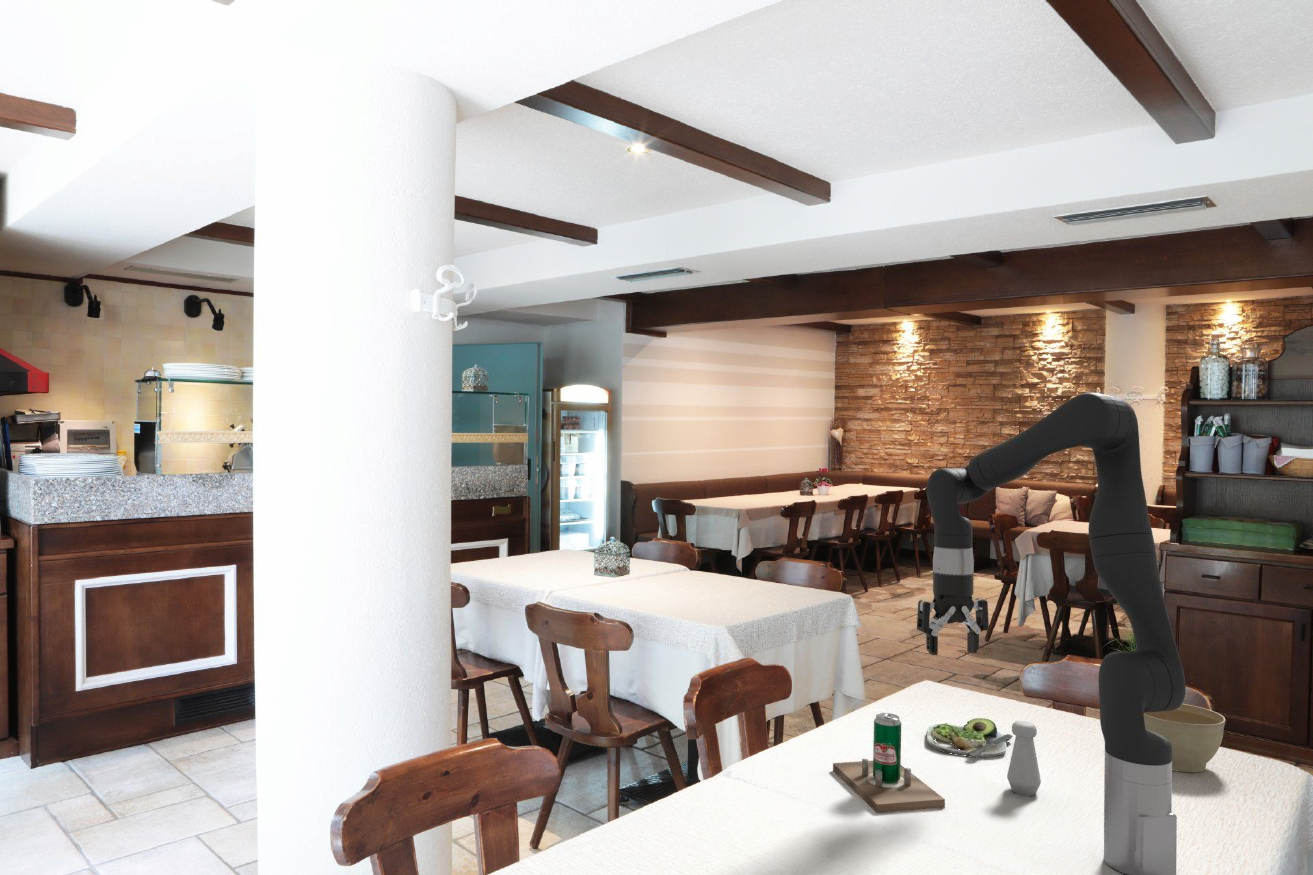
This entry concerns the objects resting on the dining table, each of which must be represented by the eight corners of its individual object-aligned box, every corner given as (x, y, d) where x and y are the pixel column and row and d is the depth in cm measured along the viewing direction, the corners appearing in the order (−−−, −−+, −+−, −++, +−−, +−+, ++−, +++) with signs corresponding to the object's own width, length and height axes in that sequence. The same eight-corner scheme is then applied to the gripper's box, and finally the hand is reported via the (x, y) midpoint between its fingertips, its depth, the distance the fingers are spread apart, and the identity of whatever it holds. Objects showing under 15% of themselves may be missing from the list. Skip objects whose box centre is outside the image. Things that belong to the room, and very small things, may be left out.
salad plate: (1014, 769, 176) (1014, 746, 176) (922, 756, 183) (922, 734, 183) (1012, 739, 194) (1012, 718, 194) (928, 728, 201) (928, 708, 201)
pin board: (944, 807, 157) (945, 782, 157) (877, 812, 154) (877, 787, 154) (893, 766, 176) (893, 744, 176) (832, 770, 174) (833, 747, 174)
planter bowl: (1243, 773, 174) (1244, 719, 174) (1186, 784, 168) (1187, 728, 168) (1170, 747, 189) (1170, 696, 189) (1115, 756, 183) (1115, 704, 183)
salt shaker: (1043, 799, 161) (1044, 728, 161) (1010, 796, 162) (1011, 726, 162) (1036, 786, 166) (1036, 718, 167) (1004, 784, 168) (1005, 716, 168)
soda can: (869, 781, 164) (870, 717, 164) (876, 772, 169) (877, 710, 169) (896, 786, 162) (897, 722, 162) (903, 777, 166) (904, 714, 166)
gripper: (930, 573, 165) (930, 659, 165) (997, 572, 168) (996, 656, 168) (910, 568, 172) (909, 650, 172) (974, 566, 176) (973, 647, 175)
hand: (952, 653), depth 170 cm, fingers open, 8 cm apart
